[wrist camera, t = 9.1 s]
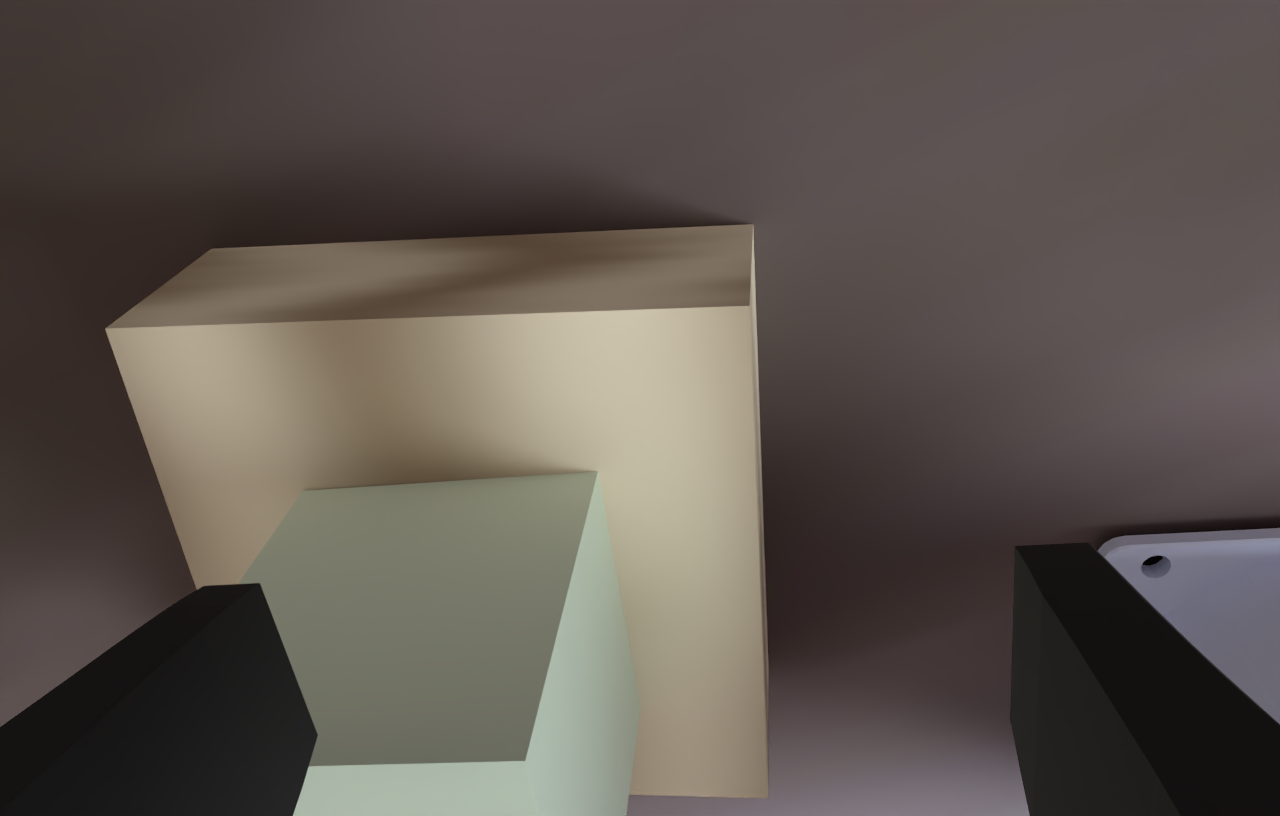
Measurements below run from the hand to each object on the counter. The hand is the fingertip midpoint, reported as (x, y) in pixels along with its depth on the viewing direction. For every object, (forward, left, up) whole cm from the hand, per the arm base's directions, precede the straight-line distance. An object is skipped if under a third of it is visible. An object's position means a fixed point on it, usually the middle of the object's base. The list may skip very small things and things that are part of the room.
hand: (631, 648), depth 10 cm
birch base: (+4, +4, -10) cm, 12 cm away
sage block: (+4, +4, -6) cm, 9 cm away
